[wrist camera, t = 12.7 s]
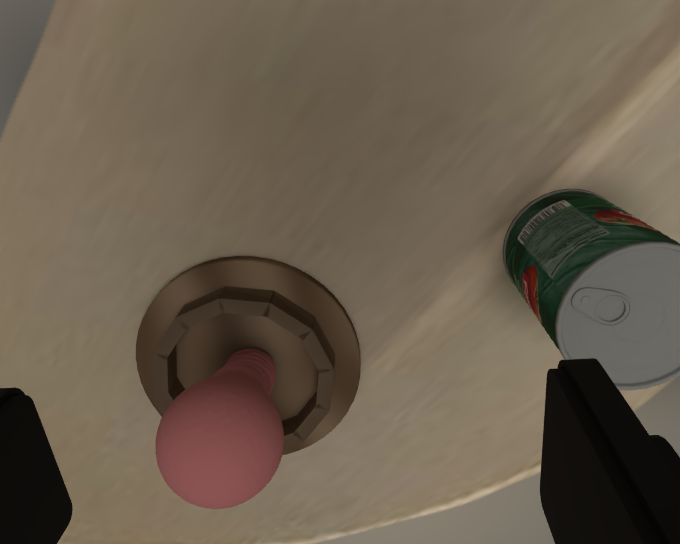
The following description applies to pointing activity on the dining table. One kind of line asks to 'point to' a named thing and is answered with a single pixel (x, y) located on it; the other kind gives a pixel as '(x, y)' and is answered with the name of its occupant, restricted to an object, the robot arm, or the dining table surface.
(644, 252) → the canned tomato
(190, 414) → the light bulb
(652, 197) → the dining table surface
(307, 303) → the holder
